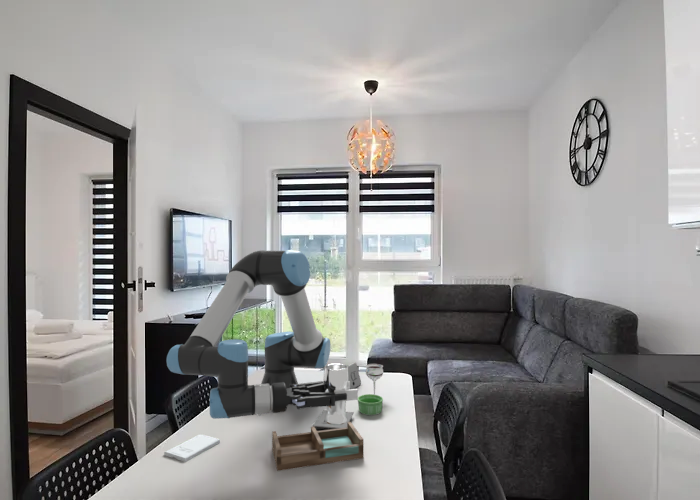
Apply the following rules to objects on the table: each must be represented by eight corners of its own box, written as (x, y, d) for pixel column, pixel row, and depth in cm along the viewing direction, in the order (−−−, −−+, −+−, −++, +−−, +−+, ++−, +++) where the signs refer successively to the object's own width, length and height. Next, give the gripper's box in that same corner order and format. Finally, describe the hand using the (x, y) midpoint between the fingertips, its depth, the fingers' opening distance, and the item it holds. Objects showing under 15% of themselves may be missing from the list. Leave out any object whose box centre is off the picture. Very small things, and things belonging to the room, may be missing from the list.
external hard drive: (219, 444, 118) (185, 463, 107) (199, 439, 122) (164, 456, 111) (220, 439, 119) (185, 457, 107) (199, 433, 122) (164, 450, 111)
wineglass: (371, 393, 161) (371, 362, 161) (386, 396, 157) (386, 365, 157) (362, 398, 155) (362, 366, 155) (377, 401, 151) (377, 369, 152)
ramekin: (357, 406, 147) (357, 393, 148) (382, 406, 147) (382, 394, 147) (357, 415, 139) (357, 402, 139) (383, 416, 138) (383, 403, 138)
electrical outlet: (345, 435, 124) (345, 427, 124) (312, 432, 126) (312, 424, 126) (353, 418, 137) (353, 411, 137) (323, 416, 139) (323, 409, 139)
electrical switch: (351, 391, 164) (349, 367, 164) (340, 390, 166) (338, 367, 167) (361, 384, 172) (359, 362, 173) (351, 384, 174) (349, 362, 175)
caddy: (272, 449, 114) (272, 431, 114) (350, 438, 121) (350, 421, 121) (277, 471, 102) (277, 451, 103) (363, 458, 109) (363, 439, 109)
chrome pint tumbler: (323, 416, 117) (323, 363, 117) (347, 415, 117) (347, 363, 117) (323, 426, 110) (323, 370, 110) (349, 425, 110) (349, 369, 110)
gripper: (267, 400, 118) (343, 392, 124) (274, 426, 99) (364, 416, 106) (267, 373, 118) (343, 367, 124) (275, 395, 99) (364, 387, 106)
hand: (353, 390), depth 115 cm, fingers closed on chrome pint tumbler, 6 cm apart
